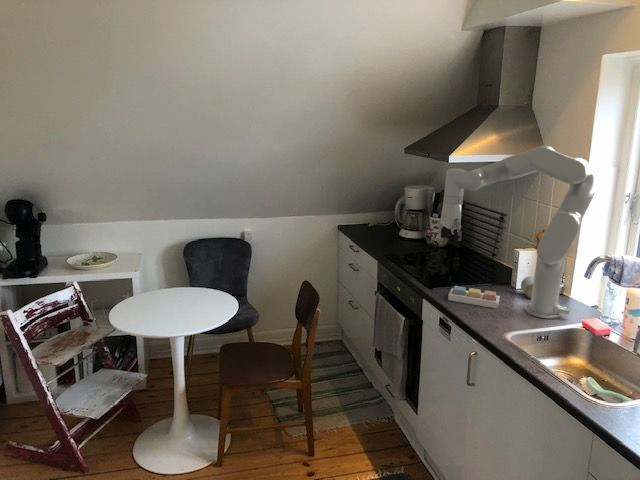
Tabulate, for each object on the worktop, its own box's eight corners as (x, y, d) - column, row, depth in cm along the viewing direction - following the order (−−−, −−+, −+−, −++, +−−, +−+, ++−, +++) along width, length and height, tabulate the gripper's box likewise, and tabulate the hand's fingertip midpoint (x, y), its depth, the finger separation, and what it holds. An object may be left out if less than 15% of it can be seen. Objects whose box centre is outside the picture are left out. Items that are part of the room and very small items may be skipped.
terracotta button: (495, 299, 205) (496, 292, 205) (494, 302, 202) (495, 295, 201) (484, 297, 207) (485, 290, 206) (482, 300, 203) (483, 293, 202)
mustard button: (480, 296, 208) (480, 289, 207) (478, 300, 204) (479, 293, 203) (469, 294, 209) (469, 288, 209) (467, 298, 206) (468, 291, 205)
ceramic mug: (524, 299, 211) (527, 281, 208) (519, 292, 218) (522, 275, 216) (551, 301, 209) (554, 284, 207) (545, 294, 217) (548, 277, 215)
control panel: (499, 301, 207) (499, 296, 206) (497, 308, 200) (498, 302, 199) (451, 293, 214) (451, 288, 214) (447, 300, 207) (448, 294, 206)
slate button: (465, 294, 210) (465, 287, 209) (463, 297, 206) (464, 290, 205) (454, 292, 212) (455, 285, 211) (452, 295, 208) (453, 288, 207)
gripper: (436, 195, 212) (432, 235, 216) (453, 203, 195) (448, 246, 200) (453, 195, 213) (449, 235, 217) (471, 204, 196) (466, 246, 201)
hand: (449, 240), depth 209 cm, fingers open, 9 cm apart
